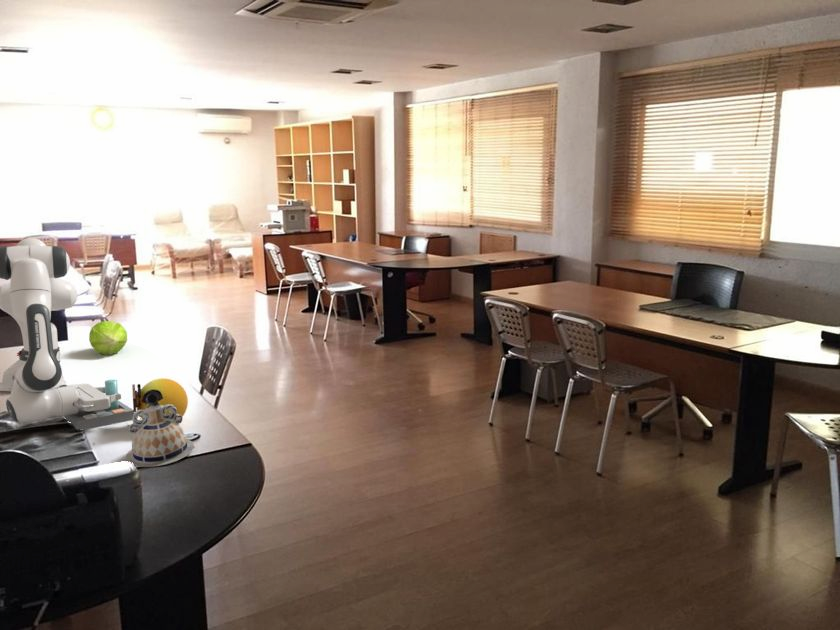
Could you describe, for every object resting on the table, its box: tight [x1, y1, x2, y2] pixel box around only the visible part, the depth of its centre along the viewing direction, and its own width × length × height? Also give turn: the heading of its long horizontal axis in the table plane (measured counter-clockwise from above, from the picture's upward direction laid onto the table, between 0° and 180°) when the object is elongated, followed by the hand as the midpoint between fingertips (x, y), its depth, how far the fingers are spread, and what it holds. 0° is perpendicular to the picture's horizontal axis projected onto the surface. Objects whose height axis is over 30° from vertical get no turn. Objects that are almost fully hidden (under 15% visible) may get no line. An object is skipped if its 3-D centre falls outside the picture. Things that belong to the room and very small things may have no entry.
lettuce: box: [88, 320, 128, 356], centre depth 301 cm, size 15×23×16 cm
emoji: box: [131, 377, 189, 420], centre depth 210 cm, size 16×16×15 cm
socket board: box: [63, 400, 135, 431], centre depth 215 cm, size 13×17×3 cm
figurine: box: [124, 389, 195, 468], centre depth 187 cm, size 18×18×20 cm
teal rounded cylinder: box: [104, 379, 119, 412], centre depth 217 cm, size 4×4×12 cm
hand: (114, 392), depth 217 cm, fingers open, 8 cm apart
